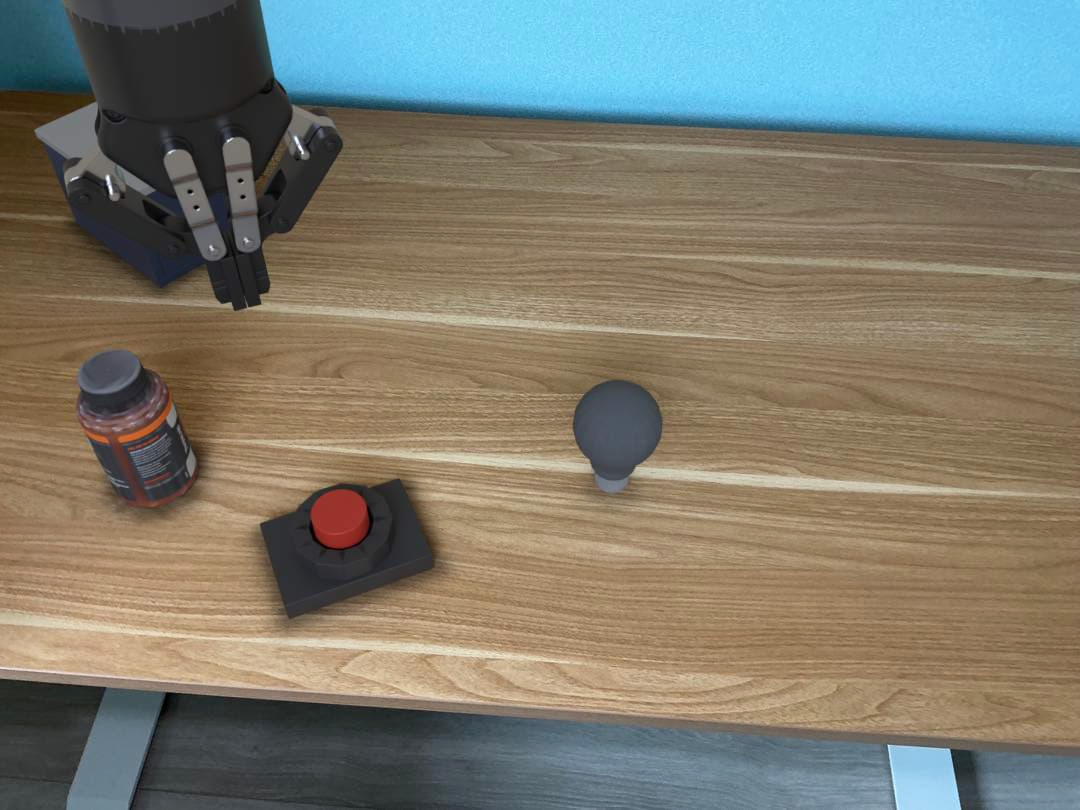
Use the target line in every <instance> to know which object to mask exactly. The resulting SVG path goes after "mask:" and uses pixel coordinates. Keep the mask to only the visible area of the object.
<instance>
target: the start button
mask: <svg viewBox="0 0 1080 810" xmlns="http://www.w3.org/2000/svg"><path fill="white" fill-rule="evenodd" d="M311 520H312V524H313V528H314V531H315V535H316V537H317V539H318V540H319V541H320V542H321V543H322V544H324V545H325V546H327V547H330V548H335V549H343V548H348V547H351V546H353V545H355V544H357V543H358V542H360V541H361V540H362V539H363V538H364V537H365V535H366V534H367V532H368V529H369V523H370V522H369V516H368V511H367V506H366V503H365V501H364V499H363V498H362V497H361V496H360V495H359V494H357V493H356V492H354V491H351V490H346V489H338V490H333V491H330V492H327V493H325V494H324V495H322V496H321V497H319V498H318V499H317V500H316V502H315V503H314V505H313V507H312V510H311Z"/></svg>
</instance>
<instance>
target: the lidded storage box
mask: <svg viewBox="0 0 1080 810" xmlns="http://www.w3.org/2000/svg"><path fill="white" fill-rule="evenodd" d="M42 145H43V146H44V149H45V151H46V154H47V156H48V158H49V161H50V163H51V165H52V167H53V170H54V173H55V175H56V177H57V181H58V182H59V184H60V187H61V189H62V192H63V194H64V196H65V198H66V201H67V204H68V206H69V209H70V211H71V213H72V215H73V216H72V217H73V218H74V221H75V223H76V225H77V226H79V227H80V228H81V229H83V230H84V231H86V233H88V234H89V235H91V237H93V238H94V239H96V241H98V242H100V243H101V244H103V245H104V246H105V247H106V248H108V249H109V250H110V251H111V252H113V253H114V255H116V256H118V257H119V258H120V259H122V260H123V261H124V262H125V263H127V264H128V265H129V266H131V267H132V268H133V269H134V270H136V271H137V272H139V274H141V275H142V276H143V277H145V278H146V279H147V280H148V281H150V282H152V283H153V284H154V285H155V286H156V287H158V288H159V289H162V288H163V287H165V286H166V285H169V284H170V283H171V282H173V281H175V280H177V279H178V278H180V277H182V276H183V275H185V274H187V273H189V272H191V271H193V270H194V269H196V268H197V267H200V266H201V265H203V264H205V261H204V260H203V258H201V257H200V256H198V255H196V254H186V253H185V255H184V256H183V257H181V258H179V259H176V260H170V259H166V258H164V257H163V256H161V255H159V254H157V253H155V252H154V251H152V250H150V249H148V248H146V247H145V246H143V245H141V244H139V243H137V242H136V241H134V240H132V239H130V238H128V237H127V236H125V235H123V234H121V233H119V232H118V231H116V230H114V229H112V228H110V227H109V226H107V225H105V224H103V223H101V222H100V221H98V220H96V219H94V218H92V217H91V216H89V215H87V214H85V213H83V212H82V211H80V210H78V209H76V208H75V207H73V206H72V205H71V204H70V202H69V198H68V193H67V190H66V185H65V180H64V172H63V165H64V163H65V162H66V161H67V160H68V159H67V158H65V157H64V156H63V155H61V154H60V153H58V152H57V151H56V150H54V149H53V148H51V147H50V146H49V145H47V144H46V143H45V142H43V141H42ZM147 197H149V198H150V199H152V200H154V201H155V202H157V203H159V204H160V205H162V206H164V207H165V208H167V209H169V210H170V211H172V212H173V213H175V214H176V216H185V214H184V211H183V209H182V206H181V204H180V201H179V199H174V198H170V197H167V196H165V195H163V194H161V193H159V192H158V191H154V192H152V193H150V194H149V195H147ZM208 198H209V201H210V203H211V206H212V209H213V211H214V214H215V217H216V219H217V221H218V222H219V224H220V227H221V230H222V231H225V233H226V236H227V232H226V230H230V228H229V224H228V221H227V218H226V213H225V207H224V201H223V195H222V193H216V194H213V195H211V196H209V197H208ZM227 239H228V236H227ZM228 241H229V240H228ZM229 244H230V243H229Z"/></svg>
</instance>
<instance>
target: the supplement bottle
mask: <svg viewBox="0 0 1080 810" xmlns="http://www.w3.org/2000/svg"><path fill="white" fill-rule="evenodd" d="M76 382H77V385H78V388H79V389H80V392H79V394H78V397H77V398H76V401H75V414H76V417H77V420H78V423H79V425H80V427H81V429H82V431H83V433H84V435H85V437H86V439H87V441H88V443H89V445H90V446H91V448H92V450H93V453H94V454H95V456H96V458H97V460H98V462H99V464H100V465H101V468H102V469H103V472H104V473H105V475H106V477H107V479H108V482H109V484H110V485H111V487H112V488H113V491H114V492H115V493H116V495H117V496H118V497H119V498H120V499H121V500H122V501H123V502H124V503H126V504H128V505H130V506H133V507H136V508H145V509H149V508H159V507H161V506H164V505H165V506H166V505H168V504H171V503H172V502H174V501H176V500H177V499H179V498H181V497H182V496H183V495H184V494H185V493H187V491H189V489H190V488H191V487H192V485H193V484H194V482H195V480H196V477H197V475H198V468H199V467H198V461H197V458H196V453H195V451H194V448H193V446H192V444H191V441H190V439H189V436H188V434H187V432H186V429H185V427H184V424H183V422H182V419H181V417H180V414H179V411H178V409H177V407H176V404H175V401H174V399H173V396H172V394H171V391H170V388H169V387H168V385H167V383H166V381H165V380H164V379H163V377H162V376H161V375H160V374H158V373H157V372H156V371H153V370H152V369H150V368H147V367H144V366H143V364H142V362H141V360H140V358H139V356H137V355H136V354H135V353H134V352H132V351H129V350H126V349H119V348H116V349H115V348H114V349H107V350H104V351H100V352H98V353H96V354H94V355H92V356H91V357H89V358H88V359H86V360H85V361H84V362H83V363H82V364H81V365H80V367H79V369H78V370H77V373H76Z"/></svg>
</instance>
